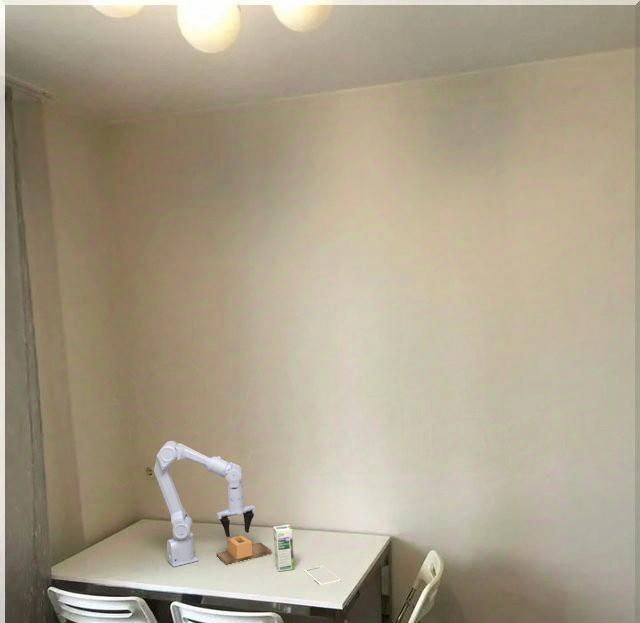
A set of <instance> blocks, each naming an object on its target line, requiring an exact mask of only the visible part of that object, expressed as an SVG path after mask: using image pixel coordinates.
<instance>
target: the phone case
mask: <svg viewBox="0 0 640 623" xmlns="http://www.w3.org/2000/svg"><path fill="white" fill-rule="evenodd" d="M315 568H319V569H323V568H324V569H323V570H325V571H326V572H327V571H328V572H329V574H330V575H331V574H332V575H333V576H334V578H335V580H332V581H329V582H324V583H321V582H320V581H318V580H317V578H315V577H314V576H313V575H312V574H310V572H308V570H311V569H315ZM303 572H305V573H306V575H307V576H308V577H309V576H310V577H311V578H312V579H313V581H314V580H315V582H316V583H317V584H318V585H320V586H319V587H321V586H324V587H326V586H325V585H328V586H330V585H329V584H332V585H334V584H333V583H336V584H340V583H341V578H340V577H338V576H337V575H336V574H335V573H333V572H332V571H331V570H329V569H328V568H327V567H326V566H324V565H322V564H321V565H317V566H312V567H308V568H304V569H303ZM328 572H327V573H328ZM305 573H304V574H305ZM332 575H331V576H332ZM333 576H332V577H333ZM310 577H309V578H310ZM311 578H310V579H311ZM336 578H337V579H338V580H337V579H336ZM339 582H340V583H339Z"/></svg>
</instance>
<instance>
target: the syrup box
mask: <svg viewBox="0 0 640 623" xmlns="http://www.w3.org/2000/svg"><path fill="white" fill-rule="evenodd" d="M272 528H273V530H272V531H273V543H274V544H273V546H274V547H273V548H274V562H275V567H277V568H276V569H277V571H278V572H279V571H281V572H286V571H292V570H295V560H294V559H295V556H294V542H293V540H294V538H293V529H292V527H291V525H290V524H283V525H277V526H273V527H272Z"/></svg>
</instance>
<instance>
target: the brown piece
mask: <svg viewBox="0 0 640 623" xmlns="http://www.w3.org/2000/svg"><path fill="white" fill-rule="evenodd" d="M237 542H239V543H242V542H240V541H237ZM272 552H273V551H272V549H271V548H269V547H268V546H266V545H265V544H263V543H262V542H256V543H252V556H248V557H244V558H240V559H237V558H235V557H234V556H233V555H231V554H230V553H229V552H228V549H227V550H223V551H219V552H216V556H215V557H216V558H217V557H218V558H219V559H218V558H217V559H218V560H219V561H221V562H222V563H223V562H224V563H225V564H224V563H223V564H224V565H226V566H229V565H228V564H230V565H233V564H232V563H234V564H237V563H236V562H238V563H241V562H240V561H242V562H245V561H244V560H246V561H249V560H248V559H250V560H252V558H254V559H256V557H257V558H261V557H264V556H263V555H265V556H268V555H267V554H269V555H272V554H271V553H272ZM260 556H261V557H260Z"/></svg>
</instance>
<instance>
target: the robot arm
mask: <svg viewBox="0 0 640 623" xmlns="http://www.w3.org/2000/svg"><path fill="white" fill-rule="evenodd" d="M185 459H186V460H188V461H192V462H194V463H197V464H200V465H202V466H205V467H206V470H207V471H208V472H210V473H213V474H215V475H216V476H220V477H221V478H225V480H226V481H227V485H226V486H227V487H226V489H227V509H224V510H222V511H218V512H216V518H217V519H218V520H219V521H220V523H221V525H222V528H223V530H224V534H225V536H226V537H227V538H231V536H230V535H231V533H230V524H231V522H230V519H229V518H228V517H232V516H237V515H243V521H244V532H245V533H247V534H249V532H250V529H251V528H250V527H251V523H252V521H253V518H254V516H255V514H254V513H255V512H256V506H255V505H253V504H252V505H246V506H245V504H244V490H243V489H244V488H243V485H244V484H243V479H242V476H243V469H242V467H241V466H240V465H239V464H238V463H233V462H231V461H226V460H224V459H222V457H221V456H220V455H217V456H212V457H209V456H206V455H205V454H203V453H201V452H199V451H196V450H194V449H193V448H190V447H189V446H188V445H185V444H183V443H181V442H180V443H179V442H176V441H175V440H169V441H167V442H165V443H164V444H163V445H162V447H161V448H160V450H159V451H158V452H157V454H156V459H155V464H154V469H153V472H154V475H155V477H156V481H157V482H158V485H159V488H160V491H161V493H162V497H163V499H164V500H165V504H166V506H167V510H168V511H169V514H170V522H171V526H172V535H173V536H172V538H170V539H168V540H167V541H166V552H167V560H166V561H167V562H168V563H169V564H170V565H171V566H172V567H173V568H174V567H178V566H183V565H186V564H187V565H188V564H191V563H195V562H198V561H199V559H198V558H197V557H196V556H195V545H194V543H195V542H194V533H193V532H192V527H193V523H194V522H193V519H192V518H191V516H189V514H188V513H187V511H186V510H185V508H184V507H183V504H182V501H181V498H180V495H179V493H178V491H177V488H176V486H175V483H174V481H173V478H172V475H171V473H170V470H169V469H170V467H171V465H172V463H173V462H174V461H175V460H177V461H181V460H185Z"/></svg>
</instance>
